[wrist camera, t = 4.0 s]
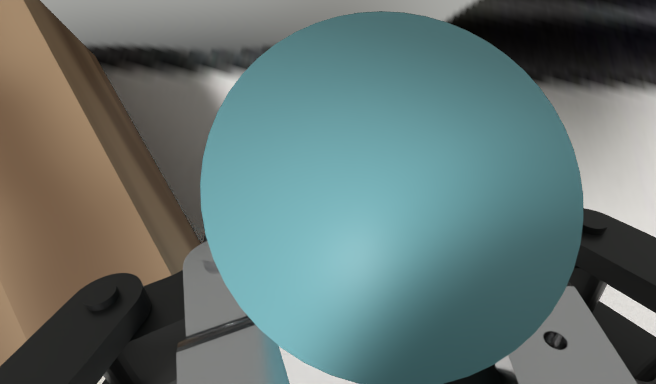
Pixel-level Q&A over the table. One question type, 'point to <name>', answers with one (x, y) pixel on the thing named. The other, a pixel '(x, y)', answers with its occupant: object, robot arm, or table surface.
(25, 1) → the socket block
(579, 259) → the robot arm
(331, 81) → the pin
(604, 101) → the table surface
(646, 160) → the table surface
